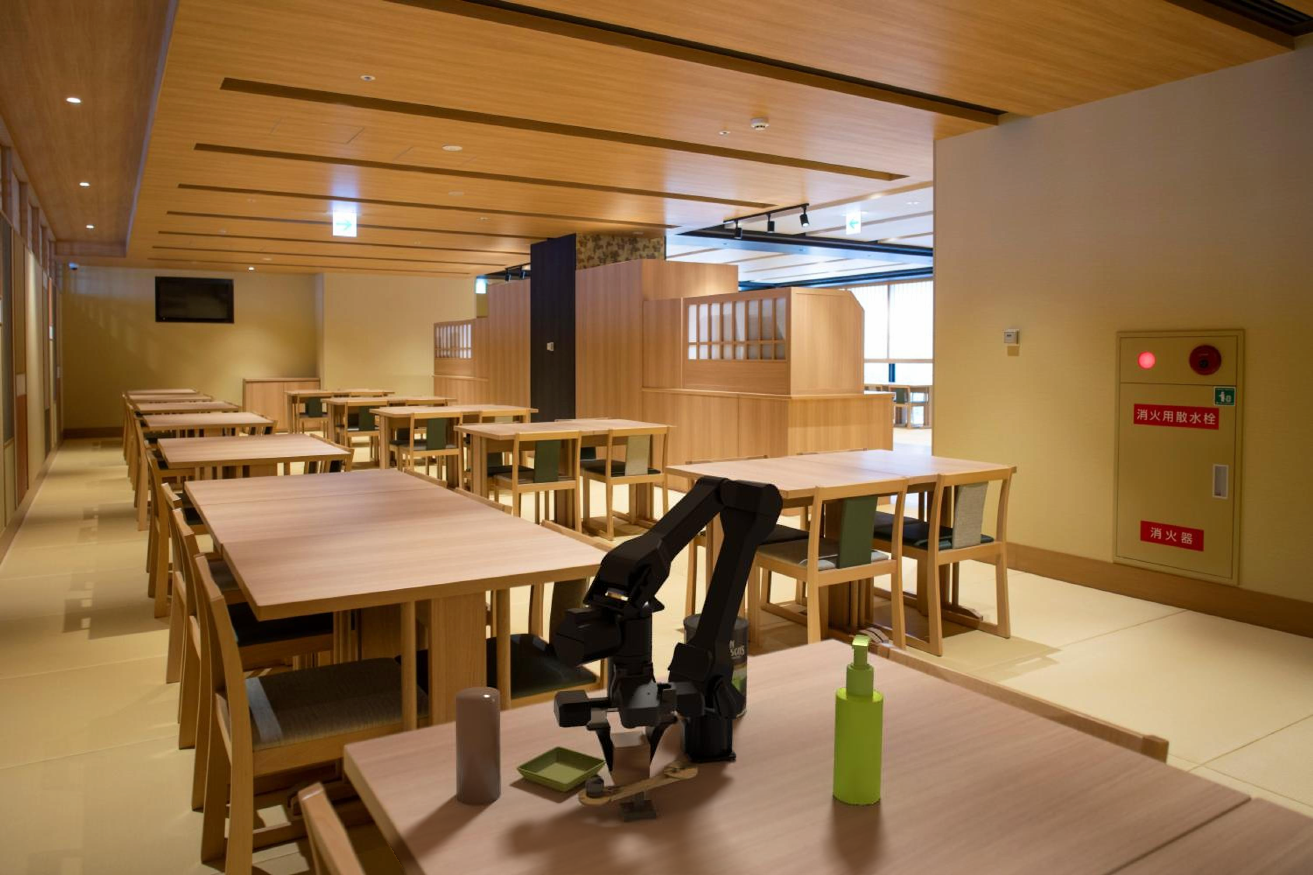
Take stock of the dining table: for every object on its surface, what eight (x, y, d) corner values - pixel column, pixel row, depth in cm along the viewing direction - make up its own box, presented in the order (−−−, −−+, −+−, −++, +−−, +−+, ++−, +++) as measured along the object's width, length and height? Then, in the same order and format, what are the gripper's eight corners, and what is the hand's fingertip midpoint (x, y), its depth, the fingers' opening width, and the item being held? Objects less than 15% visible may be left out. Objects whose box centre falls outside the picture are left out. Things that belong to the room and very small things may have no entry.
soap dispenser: (883, 784, 123) (888, 634, 122) (877, 808, 117) (882, 649, 115) (837, 777, 125) (841, 629, 124) (829, 800, 119) (833, 644, 117)
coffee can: (757, 716, 147) (759, 627, 145) (694, 723, 144) (695, 632, 142) (733, 694, 156) (735, 610, 155) (673, 699, 153) (674, 614, 152)
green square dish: (514, 782, 124) (514, 766, 124) (557, 759, 131) (557, 744, 131) (565, 800, 119) (565, 784, 119) (608, 775, 126) (608, 760, 126)
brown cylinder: (499, 782, 123) (498, 684, 122) (502, 802, 118) (501, 700, 116) (455, 787, 122) (454, 688, 120) (457, 807, 116) (455, 703, 115)
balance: (691, 800, 119) (692, 759, 118) (700, 815, 115) (701, 773, 114) (575, 812, 115) (575, 770, 115) (580, 828, 111) (581, 785, 111)
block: (641, 767, 125) (642, 730, 124) (649, 782, 120) (650, 744, 120) (608, 770, 124) (608, 733, 123) (614, 785, 119) (615, 747, 119)
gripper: (565, 675, 111) (565, 804, 112) (719, 664, 115) (717, 789, 116) (553, 647, 121) (553, 765, 123) (693, 638, 126) (692, 752, 127)
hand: (628, 768), depth 122 cm, fingers closed on block, 4 cm apart
